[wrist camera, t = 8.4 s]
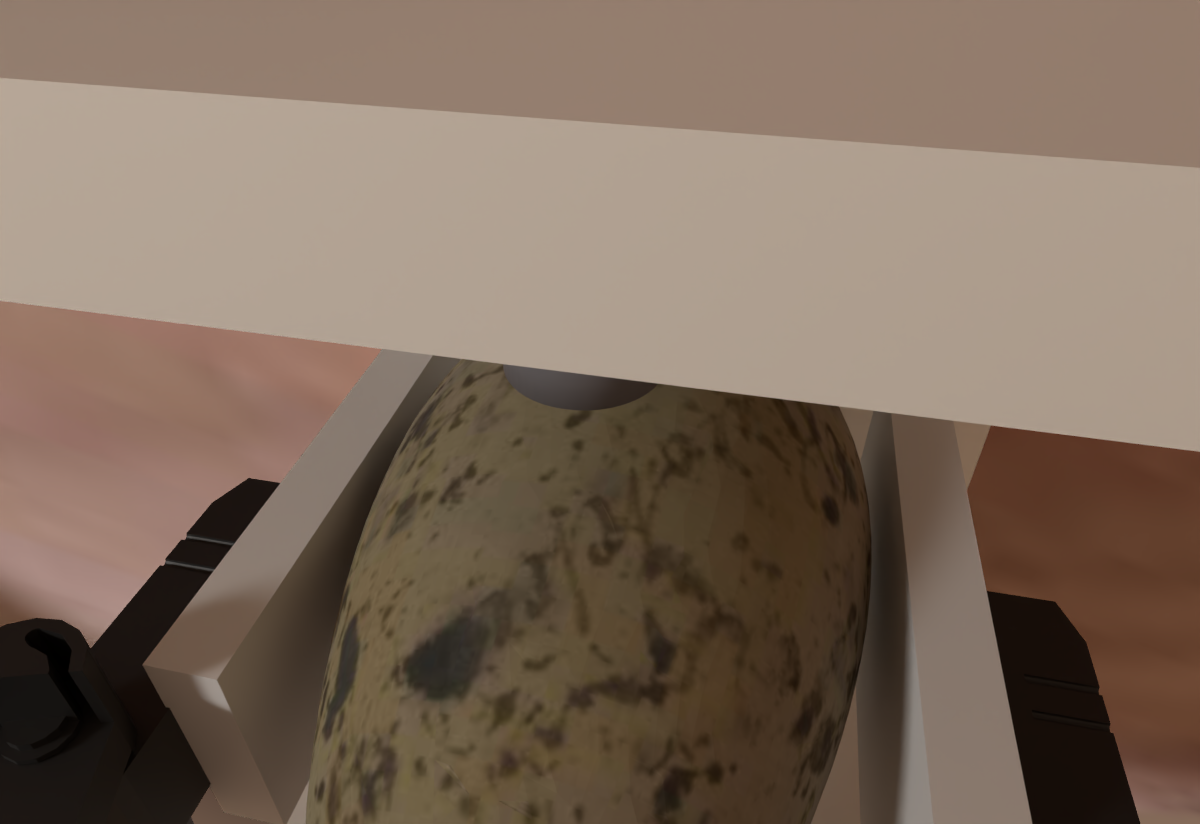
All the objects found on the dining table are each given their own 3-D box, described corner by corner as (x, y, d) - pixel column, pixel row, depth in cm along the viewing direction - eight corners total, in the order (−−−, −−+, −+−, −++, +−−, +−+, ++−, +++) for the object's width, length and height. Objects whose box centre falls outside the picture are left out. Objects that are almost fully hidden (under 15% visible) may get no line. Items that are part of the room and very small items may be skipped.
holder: (376, -157, 12) (-342, -39, 5) (1129, -143, 10) (1886, 77, 3) (467, 531, 21) (267, 957, 13) (888, 598, 19) (928, 1129, 12)
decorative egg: (954, 327, 12) (1142, 1358, 4) (733, 552, 16) (620, 1312, 8) (588, 113, 11) (28, 878, 4) (449, 401, 15) (32, 1073, 7)
